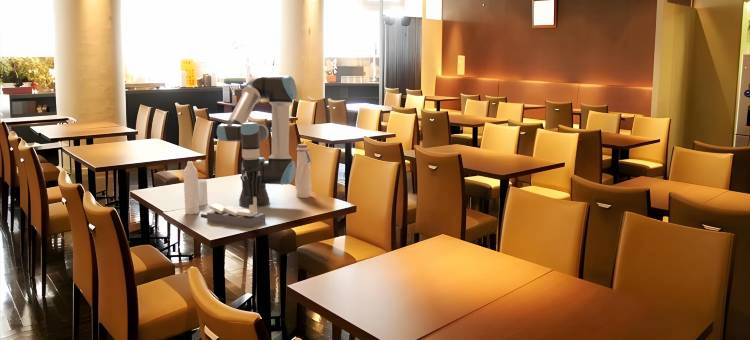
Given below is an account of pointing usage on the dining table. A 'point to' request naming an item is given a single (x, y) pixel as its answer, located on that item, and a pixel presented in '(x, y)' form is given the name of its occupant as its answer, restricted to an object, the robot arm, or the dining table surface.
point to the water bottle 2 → (303, 172)
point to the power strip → (235, 219)
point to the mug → (202, 192)
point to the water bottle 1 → (191, 188)
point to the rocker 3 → (246, 212)
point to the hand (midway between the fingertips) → (253, 211)
